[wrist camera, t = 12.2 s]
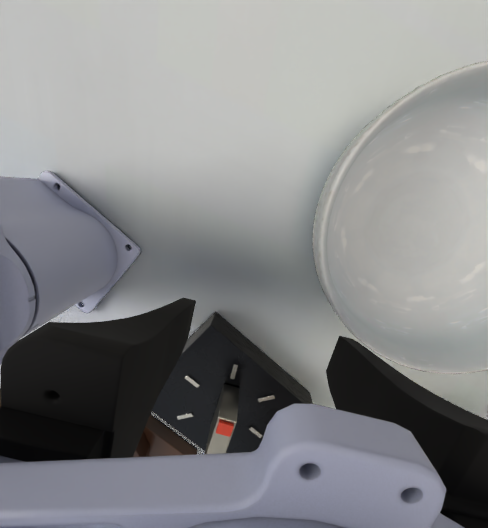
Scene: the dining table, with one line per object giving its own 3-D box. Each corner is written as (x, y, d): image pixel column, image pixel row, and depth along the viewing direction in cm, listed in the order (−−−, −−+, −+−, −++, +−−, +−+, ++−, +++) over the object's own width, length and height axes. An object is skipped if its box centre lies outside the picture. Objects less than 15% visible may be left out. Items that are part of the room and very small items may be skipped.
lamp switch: (50, 436, 28) (25, 467, 25) (104, 379, 26) (83, 404, 23) (140, 498, 30) (126, 534, 27) (197, 449, 28) (190, 482, 24)
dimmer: (147, 379, 26) (135, 400, 23) (215, 311, 23) (210, 325, 21) (238, 450, 27) (236, 476, 25) (310, 392, 25) (316, 415, 23)
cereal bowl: (258, 197, 21) (259, 199, 14) (464, 49, 18) (594, -41, 11) (365, 356, 24) (408, 421, 17) (555, 253, 21) (701, 283, 14)
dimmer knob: (225, 429, 24) (220, 472, 20) (210, 425, 23) (202, 467, 20) (239, 387, 22) (236, 424, 19) (223, 383, 22) (217, 419, 19)
